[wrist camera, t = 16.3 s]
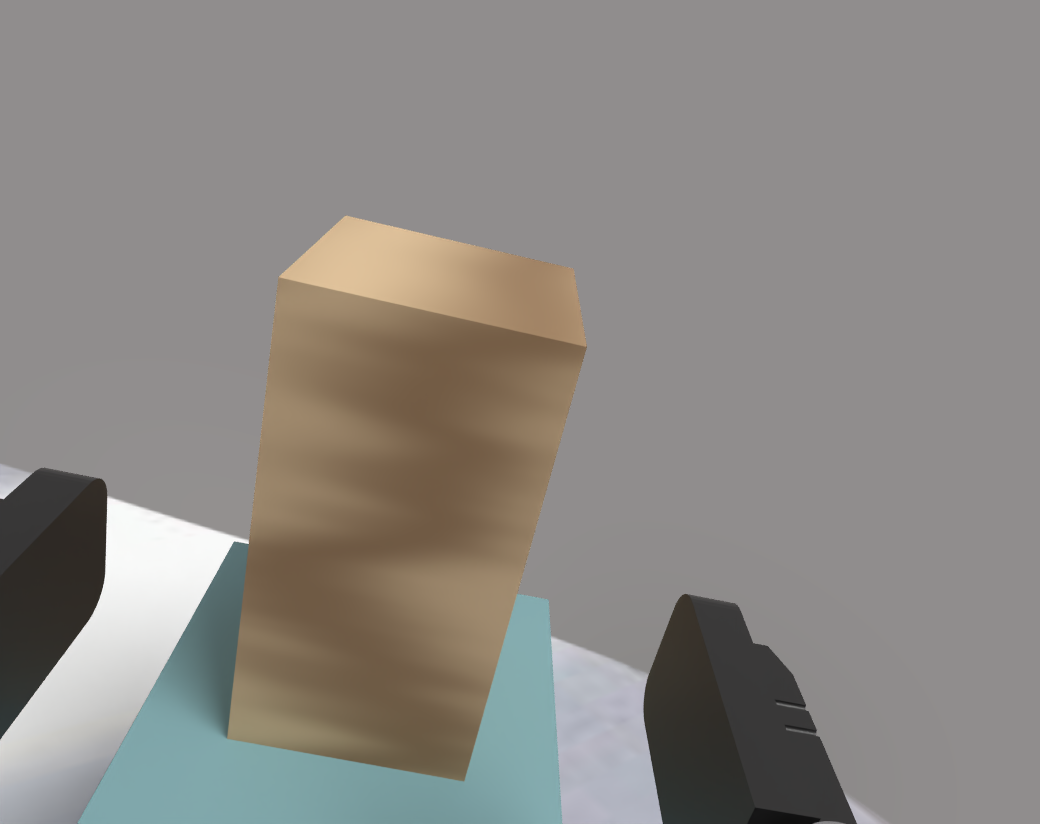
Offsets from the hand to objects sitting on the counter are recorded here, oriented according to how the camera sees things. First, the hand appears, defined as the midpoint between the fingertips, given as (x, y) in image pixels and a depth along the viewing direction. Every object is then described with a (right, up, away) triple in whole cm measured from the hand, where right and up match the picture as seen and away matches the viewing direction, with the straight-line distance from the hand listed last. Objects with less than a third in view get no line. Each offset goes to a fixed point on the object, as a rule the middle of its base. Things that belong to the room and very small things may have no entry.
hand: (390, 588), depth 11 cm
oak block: (-2, -4, +8) cm, 9 cm away
